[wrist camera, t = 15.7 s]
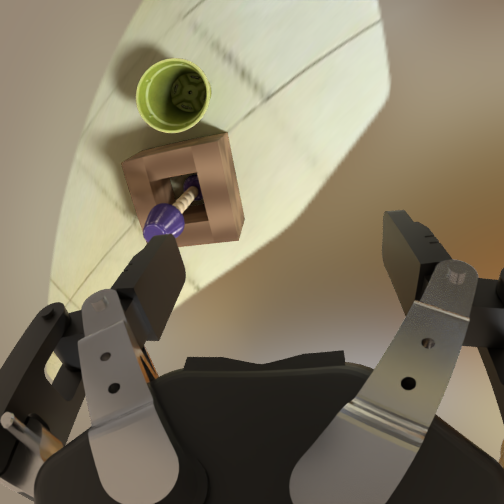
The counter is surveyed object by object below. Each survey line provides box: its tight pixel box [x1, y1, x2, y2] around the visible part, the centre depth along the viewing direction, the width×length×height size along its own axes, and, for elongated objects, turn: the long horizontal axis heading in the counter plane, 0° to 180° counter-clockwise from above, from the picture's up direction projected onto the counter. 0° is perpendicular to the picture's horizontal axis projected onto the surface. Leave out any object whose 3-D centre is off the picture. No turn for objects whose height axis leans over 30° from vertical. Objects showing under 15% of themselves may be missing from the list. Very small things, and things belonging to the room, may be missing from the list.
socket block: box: [121, 132, 245, 247], centre depth 43 cm, size 14×14×7 cm
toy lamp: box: [143, 174, 203, 242], centre depth 39 cm, size 5×5×17 cm
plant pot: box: [136, 58, 211, 133], centre depth 35 cm, size 9×9×9 cm
